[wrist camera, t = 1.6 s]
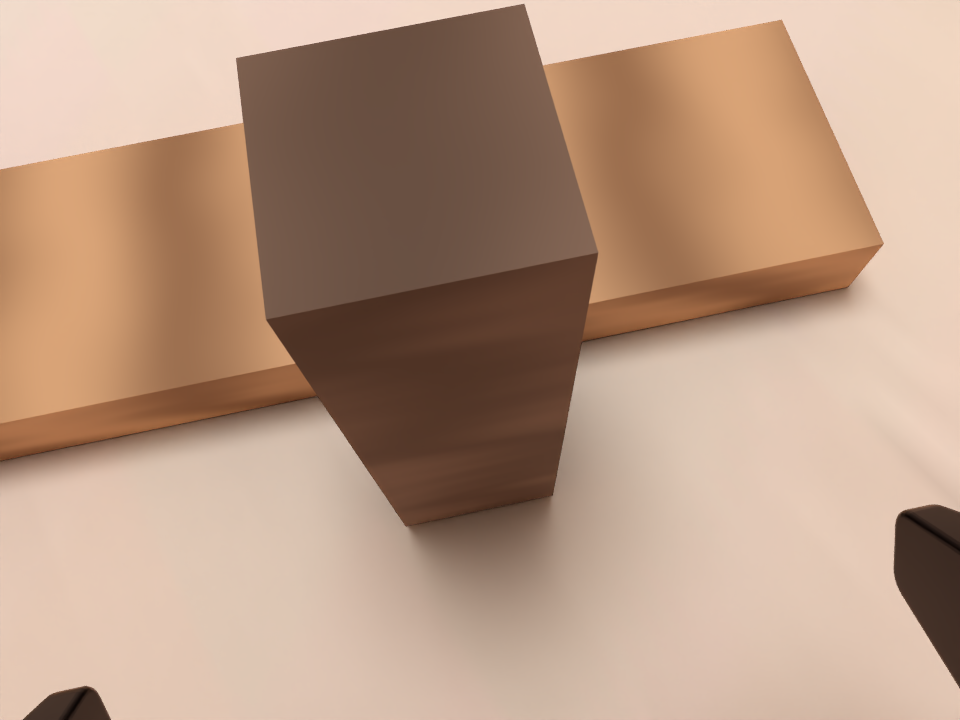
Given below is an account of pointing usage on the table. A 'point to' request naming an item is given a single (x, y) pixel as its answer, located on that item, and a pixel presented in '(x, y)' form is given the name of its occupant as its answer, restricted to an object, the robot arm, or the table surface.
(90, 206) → the oak board
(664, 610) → the table surface
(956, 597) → the robot arm
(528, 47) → the brown wooden block
